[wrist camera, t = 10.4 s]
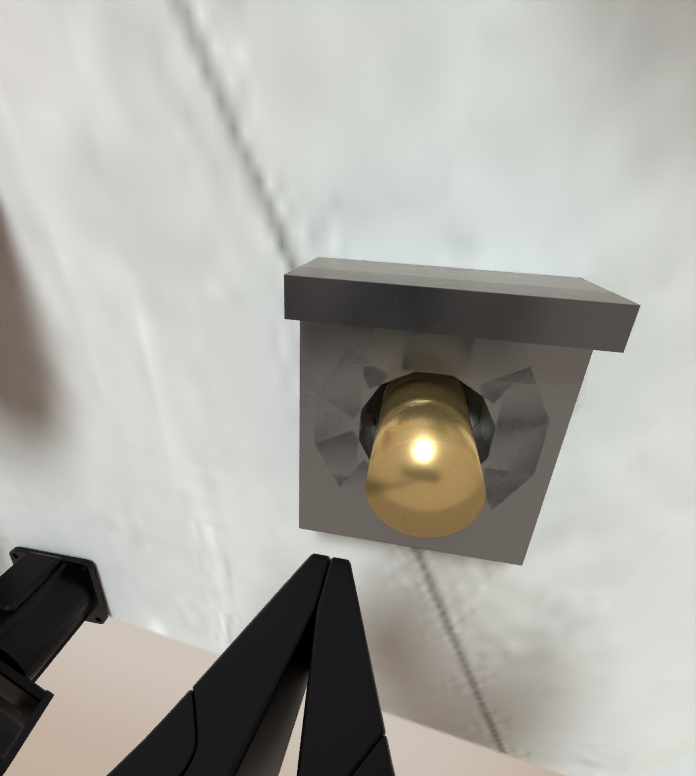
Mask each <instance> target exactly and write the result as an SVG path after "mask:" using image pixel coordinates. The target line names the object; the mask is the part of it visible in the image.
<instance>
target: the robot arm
mask: <svg viewBox="0 0 696 776" xmlns="http://www.w3.org/2000/svg"><path fill="white" fill-rule="evenodd" d="M9 554H10V557H11V560H12V562H13V564H14V565H13V566H12V567H10V568H9V569H8V570H7V571H6V572H5V573H4V574H2V575H1V576H0V776H3V774H4V773H5V771H6V770H7V768H8V767H9V765H10V764H11V762H12V761H13V759H14V758H15V756H16V755H17V753H18V751H19V750H20V748H21V747H22V745H23V743H24V742H25V740H26V739H27V737H28V735H29V734H30V732H31V731H32V729H33V728H34V726H35V724H36V723H37V721H38V720H39V718H40V717H41V715H42V714H43V712H44V710H45V709H46V707H47V706H48V704H49V702H50V701H51V699H52V698H53V696H54V694H52V693H51V692H50V691H48V690H46V691H45V690H44V689H42V688H41V687H40V686H38V685H37V684H35V682H36V680H37V679H38V678H39V677H40V675H41V674H42V673H43V672H44V670H45V669H46V668H47V667H48V666H49V664H50V663H51V662H52V661H53V659H54V658H55V657H56V655H57V654H58V653H59V652H60V651H61V650H62V648H63V647H64V646H65V645H66V643H67V642H68V641H69V640H70V638H71V637H72V636H73V635H74V633H75V632H76V631H77V630H78V629H79V627H80V626H81V625H82V623H83V622H84V621H89V622H93V623H99V624H103V623H104V622H105V621H106V619H107V618H108V615H107V612H106V608H105V605H104V601H103V598H102V595H101V591H100V588H99V584H98V581H97V578H96V574H95V571H94V568H93V565H92V563H91V562H89V561H88V560H85V559H79V558H74V557H69V556H64V555H58V554H53V553H48V552H43V551H38V550H32V549H27V548H22V547H15V548H14V549H12V550H11V551H10V552H9ZM306 687H307V691H306V700H305V708H304V717H303V726H302V735H301V743H300V751H299V760H298V770H297V776H395V773H394V769H393V764H392V760H391V755H390V750H389V745H388V740H387V737H386V736H385V727H384V722H383V717H382V712H381V708H380V703H379V698H378V693H377V688H376V683H375V679H374V674H373V669H372V664H371V659H370V655H369V650H368V645H367V640H366V635H365V631H364V626H363V621H362V616H361V611H360V606H359V602H358V597H357V592H356V587H355V582H354V578H353V573H352V568H351V563H350V561H349V560H346V559H341V558H336V557H333V558H332V559H330V557H329V556H325V555H320V554H312V555H310V556H309V558H308V559H307V560H306V561H305V562H304V563H303V564H302V565H301V566H300V568H299V569H298V570H297V571H296V572H295V573H294V574H293V575H292V576H291V578H290V579H289V580H288V581H287V582H286V583H285V584H284V585H283V587H282V588H281V589H280V590H279V591H278V592H277V593H276V594H275V595H274V597H273V598H272V599H271V600H270V601H269V602H268V603H267V604H266V606H265V607H264V608H263V609H262V610H261V611H260V612H259V613H258V614H257V616H256V617H255V618H254V619H253V620H252V621H251V622H250V623H249V624H248V626H247V627H246V628H245V629H244V630H243V631H242V632H241V633H240V635H239V636H238V637H237V638H236V639H235V640H234V641H233V642H232V643H231V645H230V646H229V647H228V648H227V649H226V650H225V651H224V652H223V654H222V655H221V656H220V657H219V658H218V659H217V660H216V661H215V662H214V664H213V665H212V666H211V667H210V668H209V669H208V670H207V672H206V673H205V674H204V675H203V676H202V677H201V678H200V679H199V680H198V681H197V683H196V684H195V685H194V686H193V691H192V690H189V691H188V693H186V695H185V696H184V697H183V698H182V699H181V700H180V701H179V702H178V704H177V705H176V706H175V707H174V708H173V709H172V710H171V711H170V713H168V714H167V716H166V717H165V718H164V719H163V720H162V721H161V722H160V723H159V724H158V725H157V726H156V727H155V728H154V729H153V730H152V732H151V733H150V734H149V735H148V736H147V737H146V738H145V739H144V740H143V741H142V742H141V743H140V744H139V745H138V746H137V747H136V748H135V749H134V750H133V751H132V752H131V753H129V754H128V755H127V756H126V757H125V759H124V760H122V761H121V762H120V763H119V764H118V765H117V766H116V767H115V768H114V769H113V770H112V771H111V772H110V773H109V774H108V775H107V776H278V775H279V772H280V769H281V766H282V762H283V759H284V756H285V753H286V750H287V747H288V743H289V740H290V737H291V734H292V730H293V728H294V725H295V721H296V718H297V715H298V712H299V709H300V705H301V702H302V699H303V696H304V693H305V690H306Z"/></svg>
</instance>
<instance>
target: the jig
mask: <svg viewBox="0 0 696 776" xmlns="http://www.w3.org/2000/svg"><path fill="white" fill-rule="evenodd" d="M284 308H285V319H291V320H300V459H299V528H301V529H307V530H313V531H319V532H325V533H331V534H337V535H343V536H349V537H355V538H361V539H367V540H373V541H379V542H385V543H391V544H397V545H403V546H409V547H415V548H421V549H427V550H433V551H438V552H444V553H450V554H456V555H462V556H468V557H474V558H480V559H486V560H492V561H498V562H504V563H510V564H516V565H522V564H523V561H524V558H525V555H526V552H527V549H528V546H529V543H530V540H531V537H532V534H533V531H534V528H535V525H536V522H537V519H538V516H539V513H540V510H541V507H542V504H543V500H544V497H545V494H546V491H547V488H548V485H549V482H550V479H551V476H552V473H553V470H554V467H555V464H556V461H557V458H558V455H559V452H560V449H561V446H562V443H563V440H564V437H565V434H566V431H567V428H568V424H569V421H570V418H571V415H572V412H573V409H574V406H575V403H576V400H577V397H578V394H579V391H580V388H581V385H582V382H583V379H584V376H585V373H586V370H587V367H588V364H589V361H590V358H591V355H592V351H593V350H601V351H611V352H621V353H623V352H624V349H625V347H626V344H627V341H628V338H629V336H630V333H631V330H632V327H633V325H634V322H635V319H636V316H637V314H638V311H639V308H640V305H639V304H637V303H634V302H632V301H630V300H628V299H626V298H623V297H621V296H619V295H617V294H615V293H613V292H610V291H608V290H606V289H604V288H602V287H599V286H597V285H595V284H593V283H591V282H589V281H586V280H584V279H582V278H574V277H562V276H549V275H536V274H524V273H511V272H499V271H486V270H473V269H461V268H448V267H435V266H423V265H410V264H397V263H385V262H372V261H359V260H347V259H334V258H322V257H318V258H316V259H314V260H312V261H310V262H308V263H306V264H304V265H302V266H300V267H298V268H296V269H294V270H293V271H291V272H289V273H287V274H285V275H284ZM414 371H416V372H425V373H434V374H443V375H452V376H454V377H456V378H457V379H459V380H460V381H461V382H463V383H464V384H466V385H467V386H469V387H470V388H471V389H473V390H474V391H476V392H477V393H479V394H480V395H481V396H483V398H484V404H483V408H482V413H481V417H480V422H479V424H478V425H477V426H476V427H475V428H474V429H473V434H474V438H475V443H476V447H477V452H478V456H479V461H480V465H481V470H482V474H483V478H484V483H485V489H486V496H485V502H484V505H483V508H482V510H481V511H480V513H479V515H478V516H477V517H476V519H475V520H474V521H473V522H472V523H471V524H469V525H468V526H467V527H465V528H464V529H462V530H460V531H458V532H456V533H453V534H450V535H447V536H442V537H434V538H423V537H415V536H411V535H407V534H404V533H401V532H399V531H397V530H395V529H393V528H391V527H389V526H388V525H387V524H385V523H384V522H383V521H382V520H381V519H379V518H378V516H377V515H376V514H375V513H374V511H373V510H372V508H371V507H370V505H369V502H368V500H367V496H366V490H365V485H366V478H367V473H368V468H369V463H370V458H371V453H372V449H373V444H374V439H375V434H376V429H377V428H376V426H375V424H374V422H373V420H372V418H371V416H370V414H369V412H368V410H367V402H368V400H369V399H370V398H371V397H372V395H373V394H374V393H375V391H376V390H377V389H378V388H379V386H380V385H381V384H384V383H386V382H389V381H391V380H394V379H396V378H399V377H402V376H404V375H407V374H409V373H412V372H414Z"/></svg>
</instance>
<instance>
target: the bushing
mask: <svg viewBox="0 0 696 776" xmlns="http://www.w3.org/2000/svg"><path fill="white" fill-rule="evenodd" d="M365 490H366V496H367V500H368V502H369V505H370V507H371V508H372V510H373V511H374V513H375V514H376V515H377V516H378V518H379V519H381V520H382V521H383V522H384V523H385V524H387V525H388V526H389V527H391V528H393V529H395V530H397V531H399V532H401V533H404V534H407V535H411V536H415V537H423V538H434V537H442V536H447V535H450V534H453V533H456V532H458V531H460V530H462V529H464V528H465V527H467V526H468V525H469V524H471V523H472V522H473V521H474V520H475V519H476V517H477V516H478V515H479V513H480V511H481V510H482V508H483V505H484V502H485V496H486V489H485V483H484V478H483V474H482V470H481V465H480V461H479V456H478V452H477V447H476V443H475V438H474V434H473V430H472V425H471V421H470V416H469V412H468V407H467V403H466V398H465V394H464V391H463V388H462V386H461V384H460V382H459V381H458V379H457V378H456V377H454V376H452V375H443V374H434V373H425V372H416V371H414V372H412V373H409V374H407V375H404V376H402V377H399V378H396V379H394V380H391V381H389V382H388V384H387V386H386V388H385V391H384V394H383V399H382V404H381V409H380V414H379V419H378V424H377V429H376V434H375V439H374V444H373V449H372V453H371V458H370V463H369V468H368V473H367V478H366V485H365Z"/></svg>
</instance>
